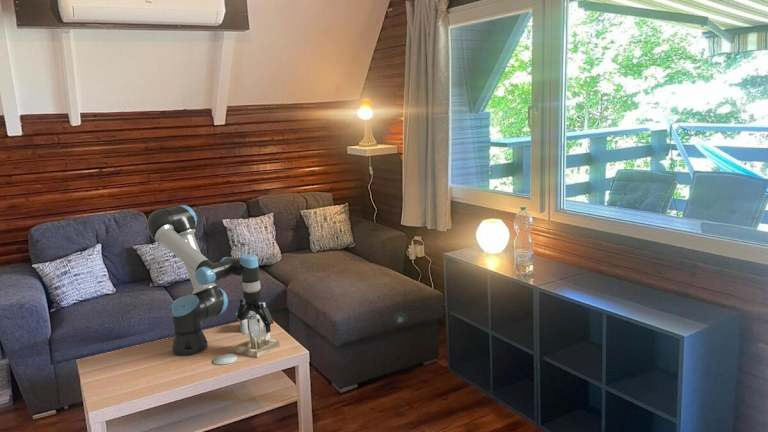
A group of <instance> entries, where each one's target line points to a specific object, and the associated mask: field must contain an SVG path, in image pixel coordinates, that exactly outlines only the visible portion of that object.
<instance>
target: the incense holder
mask: <svg viewBox="0 0 768 432" xmlns="http://www.w3.org/2000/svg"><path fill="white" fill-rule="evenodd" d="M245 308H246V306H245ZM244 310H245V309H244ZM237 314H238V312H235V318H236V319H237V320H238V321H239V326H240V327H239V330H240V333H243V332H242V327H241V320H240V319H239V318H237ZM254 314H257V313H256V312H253V311H250V312H249V313H248V315H247V317H248V316H250V315H254ZM247 317H246V319H247Z"/></svg>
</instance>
